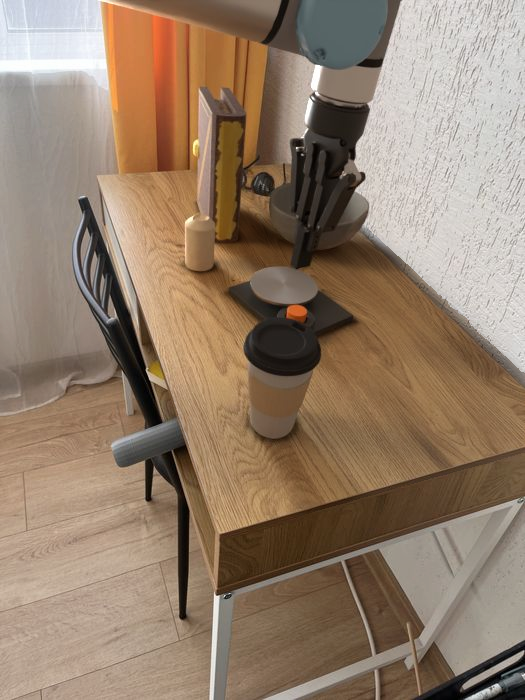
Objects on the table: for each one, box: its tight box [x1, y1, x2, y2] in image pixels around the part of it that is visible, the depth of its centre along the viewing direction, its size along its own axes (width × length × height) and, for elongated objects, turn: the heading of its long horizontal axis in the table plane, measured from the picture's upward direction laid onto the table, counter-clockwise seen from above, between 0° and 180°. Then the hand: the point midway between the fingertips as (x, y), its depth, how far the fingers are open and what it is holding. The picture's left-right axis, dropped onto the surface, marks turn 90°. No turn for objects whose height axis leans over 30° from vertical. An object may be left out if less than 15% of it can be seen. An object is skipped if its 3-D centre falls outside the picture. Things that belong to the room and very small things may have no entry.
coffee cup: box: [242, 317, 322, 440], centre depth 67 cm, size 9×9×15 cm
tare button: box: [286, 305, 307, 323], centre depth 86 cm, size 3×3×2 cm
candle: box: [184, 212, 216, 272], centre depth 99 cm, size 6×6×10 cm
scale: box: [227, 280, 354, 337], centre depth 93 cm, size 18×14×3 cm
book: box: [192, 86, 247, 243], centre depth 110 cm, size 22×8×25 cm, turn 13°
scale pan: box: [249, 266, 319, 307], centre depth 93 cm, size 12×12×1 cm
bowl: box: [268, 182, 370, 251], centre depth 110 cm, size 20×20×10 cm
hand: (299, 265), depth 78 cm, fingers closed
